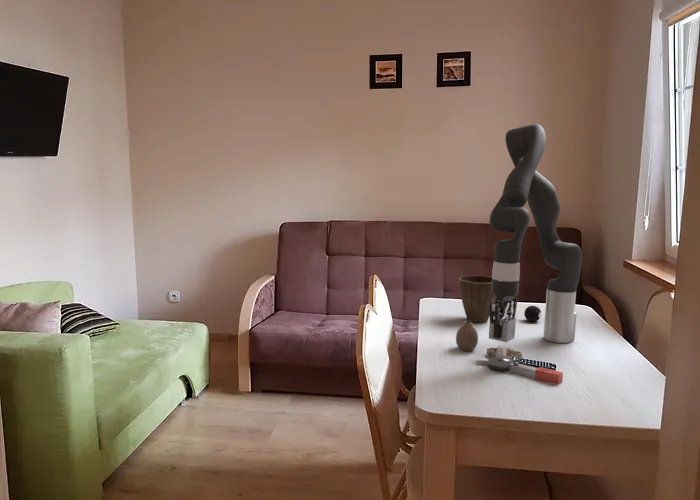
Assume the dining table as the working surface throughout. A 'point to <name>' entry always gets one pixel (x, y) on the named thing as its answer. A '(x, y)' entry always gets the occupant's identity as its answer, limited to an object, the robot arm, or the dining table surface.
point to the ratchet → (521, 367)
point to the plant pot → (476, 297)
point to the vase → (467, 337)
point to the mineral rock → (508, 352)
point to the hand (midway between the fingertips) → (501, 335)
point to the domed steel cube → (505, 329)
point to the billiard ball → (532, 313)
